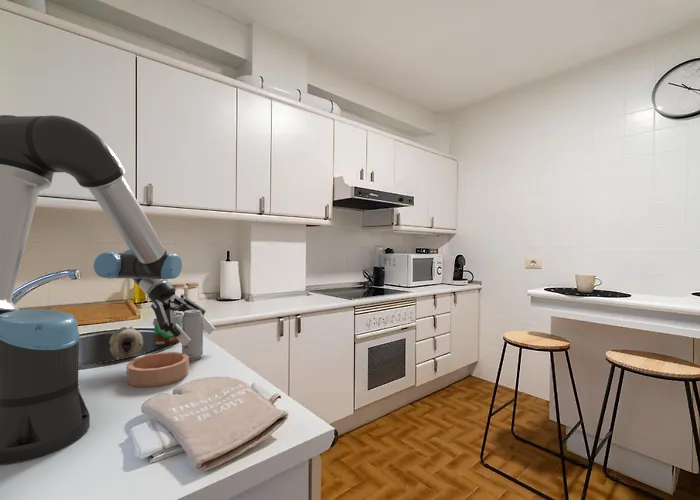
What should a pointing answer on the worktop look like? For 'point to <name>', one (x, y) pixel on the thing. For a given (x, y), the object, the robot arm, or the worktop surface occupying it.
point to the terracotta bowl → (157, 369)
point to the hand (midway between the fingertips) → (200, 337)
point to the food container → (166, 337)
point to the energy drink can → (193, 333)
